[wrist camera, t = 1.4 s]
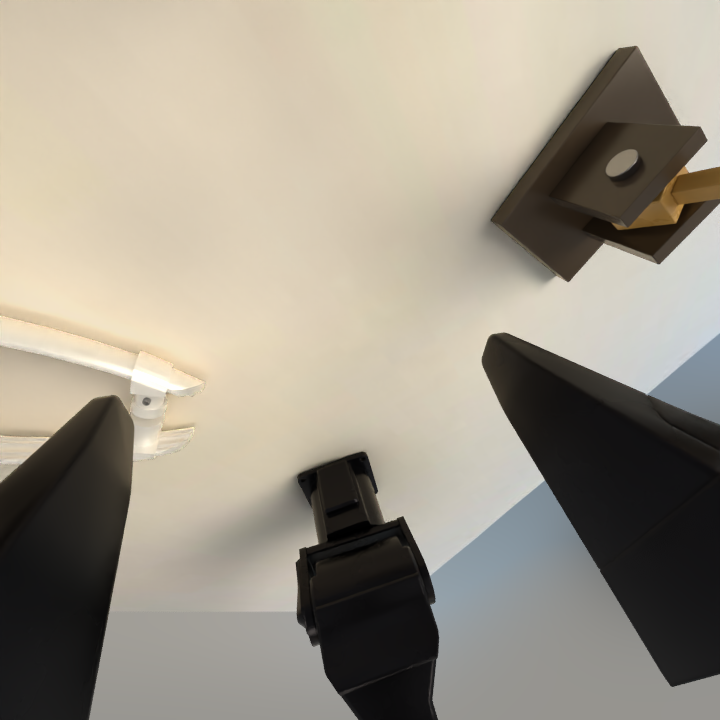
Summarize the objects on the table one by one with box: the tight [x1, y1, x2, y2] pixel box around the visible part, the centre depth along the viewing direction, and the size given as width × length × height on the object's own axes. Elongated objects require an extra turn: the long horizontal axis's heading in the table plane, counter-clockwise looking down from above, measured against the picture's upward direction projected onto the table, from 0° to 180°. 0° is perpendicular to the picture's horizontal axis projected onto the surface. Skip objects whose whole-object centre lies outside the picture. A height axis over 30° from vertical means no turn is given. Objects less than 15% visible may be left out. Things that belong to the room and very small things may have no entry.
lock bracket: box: [491, 46, 720, 282], centre depth 20 cm, size 10×8×6 cm
